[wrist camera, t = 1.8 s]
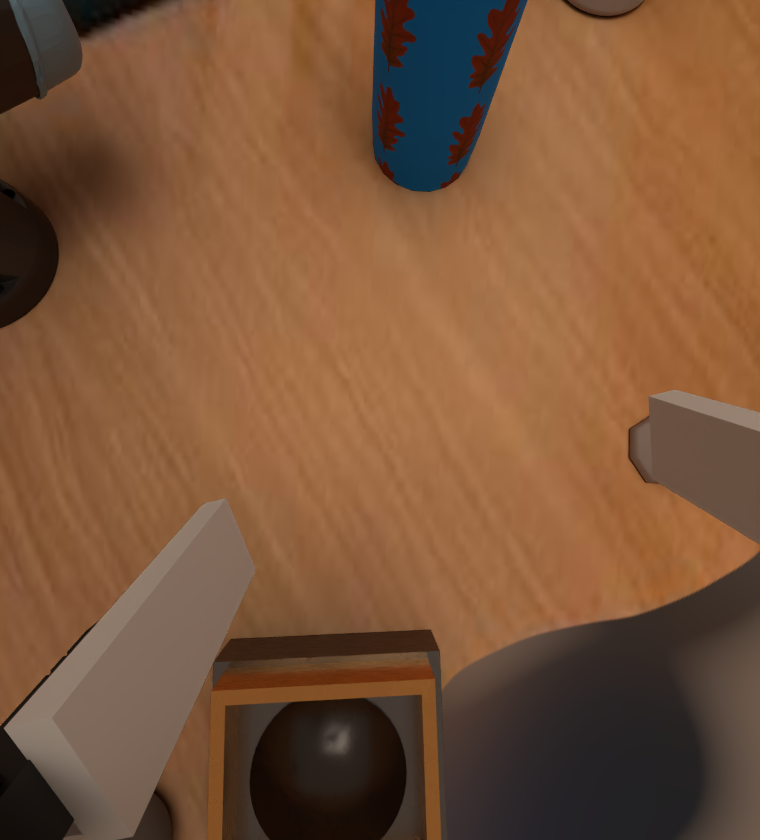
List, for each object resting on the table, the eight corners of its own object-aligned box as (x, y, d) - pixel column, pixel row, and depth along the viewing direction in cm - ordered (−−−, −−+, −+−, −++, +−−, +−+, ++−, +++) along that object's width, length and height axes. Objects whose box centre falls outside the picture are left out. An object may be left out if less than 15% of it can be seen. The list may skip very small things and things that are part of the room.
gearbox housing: (226, 854, 32) (187, 964, 25) (230, 639, 34) (196, 684, 27) (438, 838, 32) (459, 939, 25) (430, 629, 34) (448, 670, 28)
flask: (638, 493, 37) (739, 502, 27) (617, 422, 38) (707, 406, 28) (705, 476, 38) (828, 480, 28) (682, 407, 38) (794, 386, 28)
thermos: (413, 211, 40) (500, -216, 15) (351, 137, 40) (334, -391, 15) (491, 157, 41) (692, -322, 16) (429, 85, 41) (530, -479, 17)
